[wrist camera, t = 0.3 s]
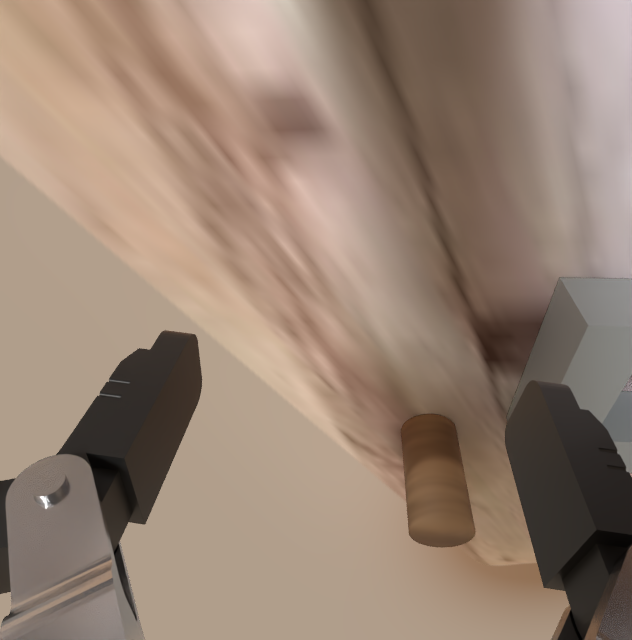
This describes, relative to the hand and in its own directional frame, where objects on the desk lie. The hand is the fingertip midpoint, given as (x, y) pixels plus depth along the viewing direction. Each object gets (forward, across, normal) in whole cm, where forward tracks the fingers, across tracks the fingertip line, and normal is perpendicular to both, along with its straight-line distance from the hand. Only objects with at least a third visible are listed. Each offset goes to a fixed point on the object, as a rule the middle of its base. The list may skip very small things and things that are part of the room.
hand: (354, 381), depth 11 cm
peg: (+20, -9, +25) cm, 34 cm away
